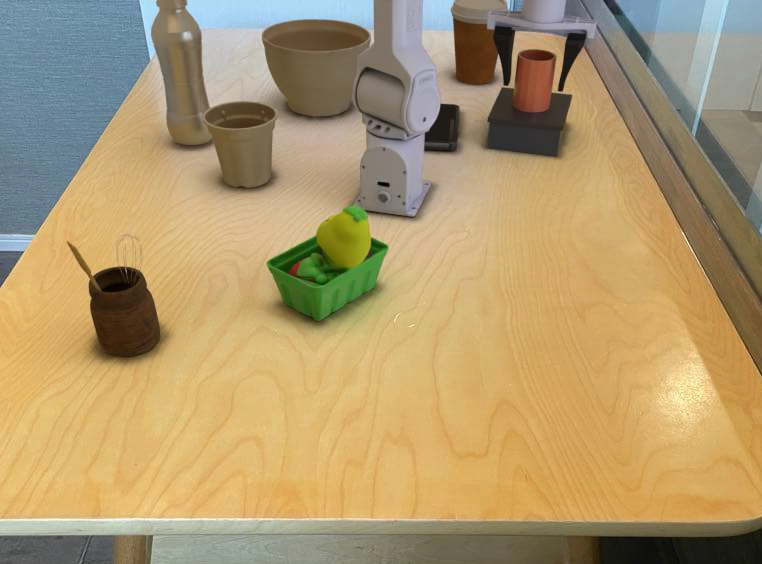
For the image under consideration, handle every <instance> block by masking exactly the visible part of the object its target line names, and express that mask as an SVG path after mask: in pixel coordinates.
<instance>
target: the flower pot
mask: <svg viewBox="0 0 762 564" xmlns="http://www.w3.org/2000/svg"><path fill="white" fill-rule="evenodd" d="M278 116H279V112H278V110H277V108H275V107H274V106H272V105H270V104H267V103H264V102H260V101H253V100H236V101H228V102H223V103H219V104H217V105H214V106H210V108H209V109H208V110H206V111H205V112H204V113H203V116H202V119H203V122H204V123H205V124H206V125H207V128H208V131H209V133H210V134H211V135H212V139H211V140H212V142H213V145H214V149H215V153H216V156H217V160H218V163H219V166H220V170H221V174H222V177H223V181H224V183H226V184H227V185H229V186H231V187H234V188H238V187H243V188H247V189H253V188H258V187H260V186H263V185H265V184H266V183H268V182H269V181H270V178H271V177H272V161H273V141H274V140H273V137H274V130H275V127H276V121H277V119H278Z"/></svg>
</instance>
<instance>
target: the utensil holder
mask: <svg viewBox="0 0 762 564" xmlns="http://www.w3.org/2000/svg"><path fill="white" fill-rule="evenodd" d="M129 237H130V238H131V240H132V242H131V243H132V244H131V245H133V248H136V245H135V242H134V240H133V239H134V238H135V239H136V241H138V243H139V251H140V255H139V256H140V257H139V262H140V263H139V264H138V268H137V264H135V265H134V262H131V263H132V264H131V266H132V267H131V266H126V263H127V245H125V247H124V249H125V250H124V253H122V257H123V258H122V259H123V260H124V261H123V265H124V266H122V265H121V266H120V264H119V258H116V259H117V260H116V261H117V265H118V266H112V267H107V268H105V269H102V270H100V271H98V272H96V273H95V274H92V270H91V269H90V267H89V265H88V264H87V262H86V261H85V259H84V258H83V256H82V254H81V253H80V251H79V250H78V248H77V247H76V246H75V245H73V244H72V243H71V242H70V241H69V240H67V241H66V244H67V245H68V247H69V249H70V251H71V253H72V254H73V256H74V258H75V260H76V262H77V264H78V265H79V266H80V268H81V269H82V270H83V271H84V273H85V274H86V275H87V277H88V279H89V281H88V295H89V297H90V301H89V310H90V311H89V312H90V315H91V320H92V323H93V327H94V329H95V334H96V337H97V340H98V343H99V345H100V346H101V348H102V349H103V351H105V352H106V353H107V354H109V355H113V356H116V357H133V356H138V355H141V354H144V353H146V352H148V351H150V350H151V349H152V348H154V347H155V346H156V345H157V343H158V342H159V340H160V337H161V328H160V327H161V326H160V323H159V317H158V311H157V308H156V304H155V300H154V297H153V294H152V293H151V291H150V290H149V288H148V282H147V280H146V277H145V276H144V273H143V272H142V271H141V269H142V265H143V262H142V254H143V249H142V244H141V240H140V239H139V236H136V235H135V234H131V233H129V234H128V233H124V234H122V235H121V236H119V237H118V238H117V240H116V243H117V246H119V245H120V242H121V241H122V240H124V239H125V238H126V240H125V243H127V242H128V239H129ZM121 238H122V239H121ZM119 239H120V240H119ZM115 249H116V256H119V252H118V247H116V248H115ZM136 250H137V249H134V256H135V257H134V258H135V259H134V260H135V261H137V251H136ZM124 254H125V255H124ZM124 256H125V257H124ZM134 266H135V267H134Z"/></svg>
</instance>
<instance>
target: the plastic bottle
mask: <svg viewBox="0 0 762 564" xmlns="http://www.w3.org/2000/svg"><path fill="white" fill-rule="evenodd" d="M155 5H156V7H157V8H159V10H158V12H157V14H156V16H155V18H154V20H153V22H152V24H151V28H150V36H151V40H152V44H153V47H154V50H155V53H156V57H157V60H158V63H159V67H160V72H161V75H162V80H163V84H164V92H165V93H164V94H165V104H166V114H165V118H166V119H165V120H166V127H167V130H168V133H169V136H170V137H171V138H172V139H173V140H174V142H175V143H178V144H180V145H185V146H198V145H203V144H205V143H208V142H209V141H211V140H213V139H212V135H211V134H210V133H209V131H208V128H207V125H206V124H205V123H204V122H203V119H202V116H203V113H204V112H205V111H206V110H208V109H209V108H211V105H210V101H209V98H208V93H207V89H206V84H205V77H204V68H203V67H204V66H203V33H202V30H201V28H200V26H199V23H198V22H197V21H196V19H195V18H194V17H193V16H192V14H191V13H190V12H189V10H187V8H186V7H187V6H188V0H156V1H155Z"/></svg>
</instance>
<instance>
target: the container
mask: <svg viewBox="0 0 762 564" xmlns="http://www.w3.org/2000/svg"><path fill="white" fill-rule="evenodd" d="M513 94H514V87H506V86H502V87H500V90H499V93H498V94H497V96H496V99H495V101H494V103H493V105H492V108H491V109H490V112H489V114H488V116H487V118H486V123H489V124H488V133H487V134H488V136H487V146H486V147H487V149H493V150H500V151H507V152H508V151H509V152H518V153H526V154H535V155H541V156H542V155H543V156H551V157H558V154H559V151H560V147H561V143H562V140H563V135H564V133H565V128H566V125H567V120H568V119H567V118H568V115H569V109H570V106H571V103H572V99H573V94H570V93H561V92H552V94H551V101H550V107H549V109H548V110H546V111H543V112H524V111H521V110H518V109H516V108H515V107H514V106H513Z"/></svg>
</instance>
